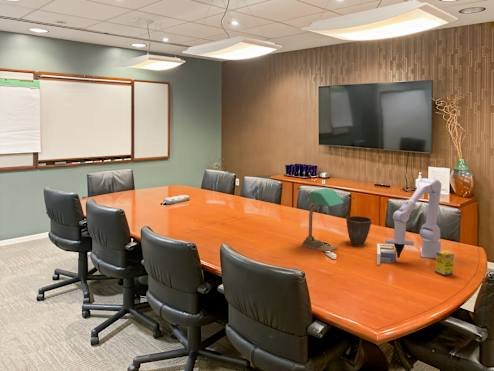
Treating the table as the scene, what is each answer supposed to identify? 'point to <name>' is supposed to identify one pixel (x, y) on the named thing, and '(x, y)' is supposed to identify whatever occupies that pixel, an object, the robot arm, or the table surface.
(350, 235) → the plant pot
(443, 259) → the supplement box
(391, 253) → the boxed book
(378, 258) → the book rack
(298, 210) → the table surface
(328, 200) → the banker's lamp
